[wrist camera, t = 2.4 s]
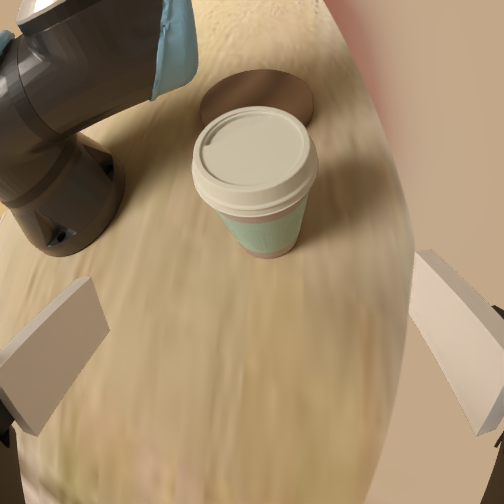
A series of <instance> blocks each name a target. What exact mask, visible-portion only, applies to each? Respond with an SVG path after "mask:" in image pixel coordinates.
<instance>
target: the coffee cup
mask: <svg viewBox="0 0 504 504" xmlns="http://www.w3.org/2000/svg"><path fill="white" fill-rule="evenodd" d="M317 173H318V156H317V152H316V148H315V145H314V142H313V140H312V139H311V137H310V136H309V134H308V132H307V130H306V128H305V127H304V125H303V124H302V123H301V122H300V121H299V120H298V119H297V118H296V117H294V116H293V115H291V114H289V113H287V112H285V111H283V110H280V109H276V108H272V107H265V106H252V107H244V108H239V109H236V110H233V111H230V112H228V113H225V114H223V115H221V116H220V117H218V118H216V119H215V120H213V121H212V122H211V123H210V124H209V125H207V126H206V127H205V129H204V130H203V131H202V132H201V134H200V135H199V137H198V139H197V140H196V143H195V146H194V151H193V160H192V175H193V181H194V185H195V187H196V190H197V192H198V193H199V195H200V196H201V198H202V199H203V200H204V201H205V202H206V203H207V204H209V205H210V206H211V207H213V208H215V210H216V211H217V213H218V214H219V215H220V217H221V218H222V220H223V221H224V222H225V224H226V225H227V227H228V228H229V229H230V231H231V232H232V234H233V235H234V236H235V238H236V239H237V241H238V242H239V243H240V245H241V246H242V247H243V249H244V250H245V251H246V252H248V253H249V254H251V255H253V256H255V257H258V258H263V259H271V258H276V257H279V256H282V255H284V254H285V253H287V252H288V251H289V250H290V249H291V248H292V247H293V246H294V245H295V243H296V241H297V239H298V235H299V231H300V228H301V224H302V219H303V215H304V211H305V207H306V203H307V199H308V194H309V190H310V188H311V187H312V185H313V183H314V181H315V179H316V176H317Z"/></svg>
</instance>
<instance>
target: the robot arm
mask: <svg viewBox="0 0 504 504" xmlns="http://www.w3.org/2000/svg"><path fill="white" fill-rule="evenodd" d="M16 23H17V25H18V27H19V28H20V30H21V32H22V33H23V34H22V35H20V36H19V37H18V38H16V39H15V38H14V37H15V35H14V34H13V33H11V32H9V31H8V30H4V31H2V32H1V33H0V201H1V202H2V203H3V204H4V205H6V206H7V207H8V208H9V209H10V210H11V212H12V214H13V216H14V217H15V219H16V221H17V222H18V224H19V226H20V227H21V229H22V230H23V232H24V234H25V235H26V237H27V238H28V240H29V241H30V242H31V243H32V244H33V245H34V246H35V247H36V248H38V249H39V250H41V251H42V252H44V253H45V254H47V255H50V256H54V257H63V256H68V255H71V254H73V253H76V252H78V251H80V250H81V249H83V248H85V247H86V246H87V245H89V244H90V243H91V242H92V241H94V240H95V239H96V238H97V237H98V236H99V235H100V234H101V233H102V232H103V230H104V229H105V228H106V227H107V225H108V224H109V223H110V221H111V220H112V218H113V217H114V215H115V213H116V211H117V209H118V207H119V205H120V202H121V200H122V196H123V192H124V187H125V176H124V171H123V168H122V166H121V165H120V163H119V162H118V160H117V159H116V157H115V156H114V155H113V153H112V152H111V151H109V150H108V149H107V148H106V147H104V146H102V145H101V144H99V143H97V142H96V141H94V140H92V139H91V138H89V137H87V136H85V135H84V134H82V133H80V132H79V131H81V130H83V129H85V128H87V127H89V126H91V125H93V124H95V123H97V122H99V121H101V120H103V119H106V118H108V117H110V116H112V115H114V114H116V113H119V112H121V111H123V110H125V109H128V108H130V107H132V106H135V105H137V104H140V103H142V102H144V101H147V100H150V101H154V100H156V98H157V97H158V96H160V95H162V94H164V93H167V92H169V91H172V90H174V89H177V88H179V87H182V86H184V85H186V84H187V83H189V82H190V81H191V80H192V79H193V77H194V76H195V75H196V72H197V69H198V44H197V35H196V27H195V20H194V14H193V8H192V2H191V0H22V3H21V6H20V9H19V12H18V14H17V18H16ZM408 314H409V315H410V317H411V318H412V320H413V322H414V323H415V325H416V326H417V328H418V330H419V331H420V333H421V335H422V337H423V338H424V340H425V342H426V343H427V345H428V347H429V348H430V350H431V352H432V354H433V356H434V357H435V359H436V361H437V363H438V364H439V366H440V368H441V370H442V372H443V373H444V375H445V377H446V379H447V381H448V383H449V384H450V386H451V388H452V390H453V392H454V394H455V396H456V398H457V400H458V402H459V404H460V406H461V408H462V410H463V412H464V414H465V416H466V418H467V420H468V422H469V424H470V426H471V428H472V431H473V433H474V435H475V437H476V436H479V435H481V434H484V433H487V432H490V431H492V430H494V429H496V428H497V426H498V424H499V423H500V421H501V420H502V418H503V416H504V310H502V309H500V308H499V307H497V306H495V305H494V306H490V305H489V304H488V303H487V302H486V301H485V300H484V298H483V297H481V296H480V294H479V293H478V292H477V291H476V290H474V288H472V287H471V286H470V285H469V284H468V283H467V282H466V281H465V280H464V279H463V278H462V277H461V276H460V275H459V274H458V273H457V272H456V271H455V270H453V268H452V267H450V266H449V265H448V264H447V263H446V262H445V261H444V260H443V259H442V258H441V257H440V256H438V255H437V254H436V253H435V252H434V251H433V250H425V251H415V259H414V271H413V281H412V289H411V297H410V305H409V312H408ZM109 331H110V329H109V327H108V324H107V322H106V319H105V316H104V313H103V311H102V308H101V305H100V302H99V299H98V296H97V293H96V290H95V287H94V284H93V281H92V278H91V277H81V278H77V279H76V280H75V281H74V282H72V283H71V284H70V285H69V286H68V287H67V288H66V289H65V290H63V291H62V292H61V293H60V294H59V295H58V296H57V297H56V298H55V299H53V300H52V301H51V302H50V303H49V304H48V305H47V306H46V307H45V308H44V309H43V310H41V311H40V312H39V313H38V314H37V315H36V316H35V317H34V318H33V319H32V320H31V321H30V322H29V323H28V324H27V325H26V326H25V327H24V328H23V329H22V330H21V331H20V332H19V333H18V334H17V335H16V336H15V337H14V338H13V339H12V340H11V341H10V342H9V343H8V344H7V345H6V346H5V347H4V348H3V349H2V350H1V351H0V504H25V499H24V493H23V488H22V482H21V475H20V468H19V460H18V451H17V440H16V432H15V429H14V428H13V427H12V425H11V424H12V423H13V421H14V420H15V421H16V422H17V424H18V425H19V426H20V428H21V429H22V430H23V431H24V432H26V433H29V434H31V435H34V436H37V437H38V435H39V434H40V432H41V431H42V429H43V427H44V426H45V424H46V423H47V421H48V420H49V418H50V416H51V415H52V413H53V412H54V410H55V409H56V407H57V406H58V404H59V403H60V401H61V400H62V398H63V397H64V395H65V394H66V392H67V391H68V389H69V388H70V386H71V385H72V383H73V382H74V380H75V379H76V378H77V376H78V375H79V373H80V372H81V370H82V369H83V367H84V366H85V365H86V363H87V362H88V360H89V359H90V358H91V356H92V355H93V353H94V352H95V351H96V349H97V348H98V346H99V345H100V344H101V342H102V341H103V339H104V338H105V337H106V335H107V334H108V333H109ZM501 441H502V442H501ZM500 442H501V446H500V449H499V452H498V456H497V459H496V462H495V465H494V468H493V471H492V474H491V477H490V480H489V482H488V485H487V488H486V491H485V493H484V496H483V498H482V500H481V503H480V504H504V431H503V433H502V434H501V436H500V437H499V439H498V440H497V442H496V444H495V446H494V447H496V448H497V447H498V445H499V444H500Z"/></svg>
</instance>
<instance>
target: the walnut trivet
mask: <svg viewBox="0 0 504 504" xmlns="http://www.w3.org/2000/svg"><path fill="white" fill-rule="evenodd" d="M252 106H265V107H272V108H276V109H280V110H283V111H285V112H287V113H289V114H291V115H293V116H294V117H296V118H297V119H298V120H299V121H300V122H301V123H302V124H303V125H304V127H306V126H307V125H308V123H309V122H310V120H311V118H312V114H313V95H312V92H311V90H310V89H309V87H308V86H307V85H306V84H305V83H304V82H303V81H302V80H301V79H299V78H297V77H296V76H293V75H291V74H289V73H286V72H282V71H277V70H251V71H245V72H241V73H238V74H234V75H232V76H229V77H227V78H225V79H223V80H222V81H220V82H218V83H217V84H216V85H214V86H213V87H212V88H211V89H210V90H209V91H208V92H207V93H206V94H205V96H204V98H203V99H202V102H201V105H200V115H201V119H202V122H203V124H204V127H206V126H207V125H209V124H210V123H211V122H212V121H213V120H215V119H216V118H218V117H220V116H221V115H223V114H225V113H228V112H230V111H233V110H236V109H239V108H244V107H252Z"/></svg>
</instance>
